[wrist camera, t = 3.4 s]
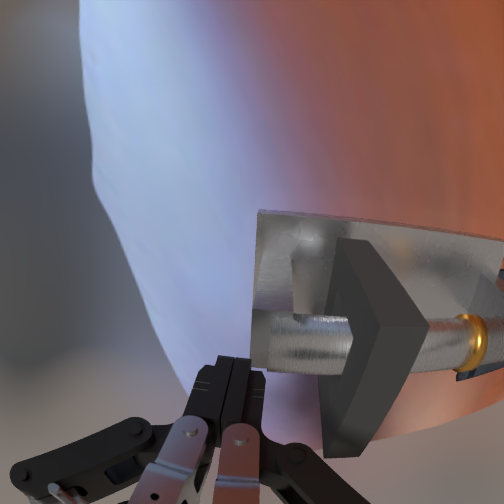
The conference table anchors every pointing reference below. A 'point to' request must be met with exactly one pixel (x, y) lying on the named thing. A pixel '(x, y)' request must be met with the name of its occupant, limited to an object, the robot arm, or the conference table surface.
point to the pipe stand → (406, 271)
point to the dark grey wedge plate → (367, 347)
